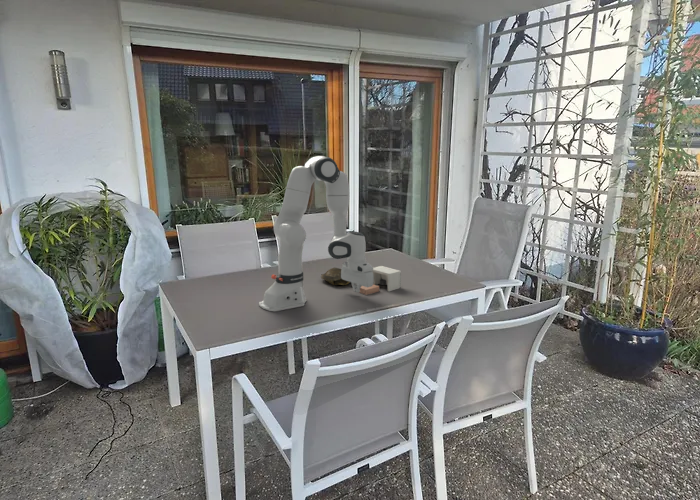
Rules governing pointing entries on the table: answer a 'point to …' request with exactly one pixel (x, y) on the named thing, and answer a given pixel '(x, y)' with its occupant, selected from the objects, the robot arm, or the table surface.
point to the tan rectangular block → (369, 289)
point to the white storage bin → (387, 277)
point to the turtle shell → (334, 277)
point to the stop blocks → (383, 282)
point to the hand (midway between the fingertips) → (356, 291)
